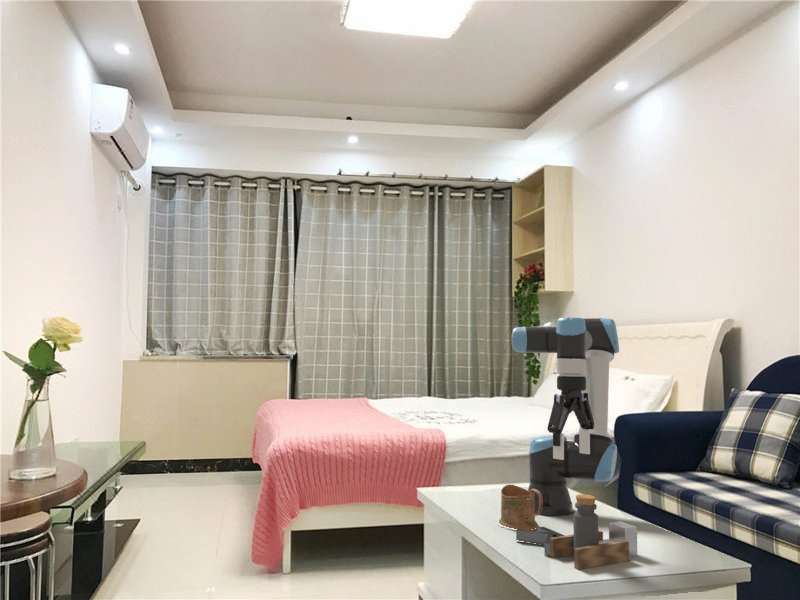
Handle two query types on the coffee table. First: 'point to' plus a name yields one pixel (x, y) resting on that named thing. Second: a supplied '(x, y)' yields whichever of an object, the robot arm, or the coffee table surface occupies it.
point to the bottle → (585, 522)
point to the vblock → (538, 537)
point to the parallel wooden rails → (590, 551)
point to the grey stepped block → (623, 535)
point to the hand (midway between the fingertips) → (571, 456)
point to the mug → (519, 507)
